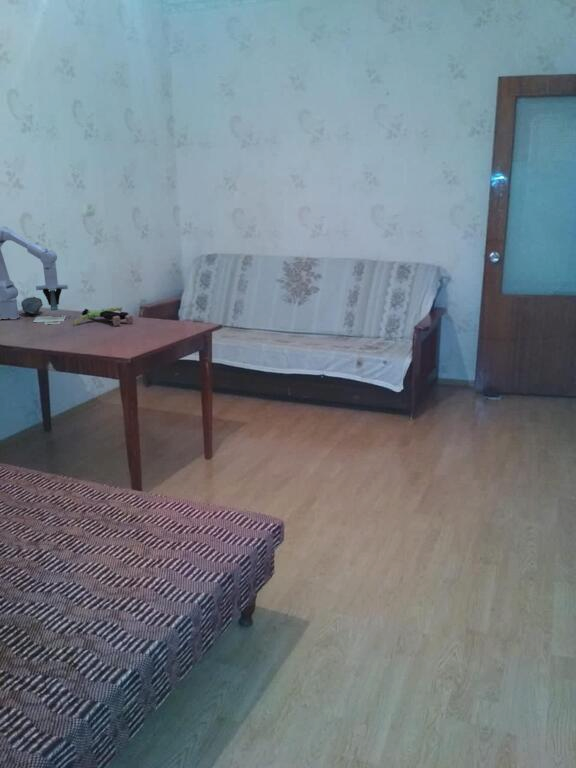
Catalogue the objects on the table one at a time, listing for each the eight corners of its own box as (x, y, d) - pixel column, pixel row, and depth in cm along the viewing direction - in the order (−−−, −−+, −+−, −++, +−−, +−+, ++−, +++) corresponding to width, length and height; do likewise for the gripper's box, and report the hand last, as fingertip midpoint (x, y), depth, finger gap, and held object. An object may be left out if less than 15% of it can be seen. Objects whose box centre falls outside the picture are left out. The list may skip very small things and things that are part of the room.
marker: (50, 310, 303) (48, 290, 301) (51, 309, 307) (49, 290, 304) (57, 310, 304) (55, 290, 302) (58, 309, 307) (56, 289, 305)
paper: (33, 322, 300) (33, 322, 299) (36, 317, 312) (36, 316, 311) (63, 321, 303) (63, 320, 303) (65, 316, 315) (65, 315, 315)
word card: (43, 324, 295) (43, 324, 295) (45, 322, 299) (44, 321, 299) (59, 324, 297) (59, 323, 296) (60, 322, 301) (60, 321, 301)
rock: (43, 310, 329) (23, 307, 327) (44, 297, 325) (23, 294, 322) (38, 326, 317) (17, 323, 314) (38, 312, 313) (17, 309, 310)
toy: (150, 316, 307) (110, 312, 323) (147, 303, 304) (107, 300, 321) (100, 336, 283) (60, 331, 300) (97, 322, 281) (56, 318, 297)
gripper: (33, 278, 295) (37, 306, 299) (66, 277, 299) (68, 305, 303) (35, 276, 302) (38, 304, 306) (66, 275, 306) (69, 302, 310)
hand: (53, 304), depth 305 cm, fingers closed on marker, 3 cm apart
